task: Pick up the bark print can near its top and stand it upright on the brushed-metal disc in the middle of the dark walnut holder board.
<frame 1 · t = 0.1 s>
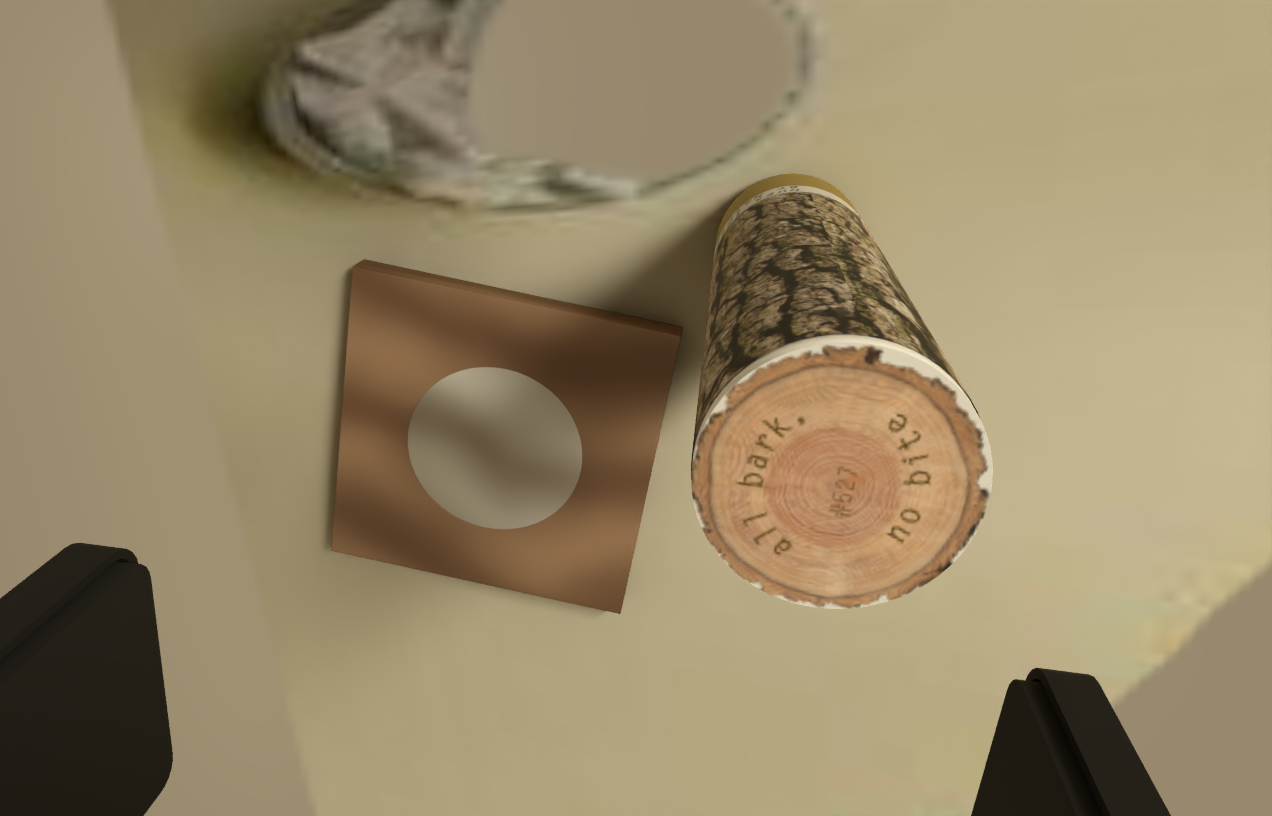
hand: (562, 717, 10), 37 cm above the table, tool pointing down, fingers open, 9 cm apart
holder board: (501, 438, 50), on the table
bark print can: (788, 243, 45), on the table
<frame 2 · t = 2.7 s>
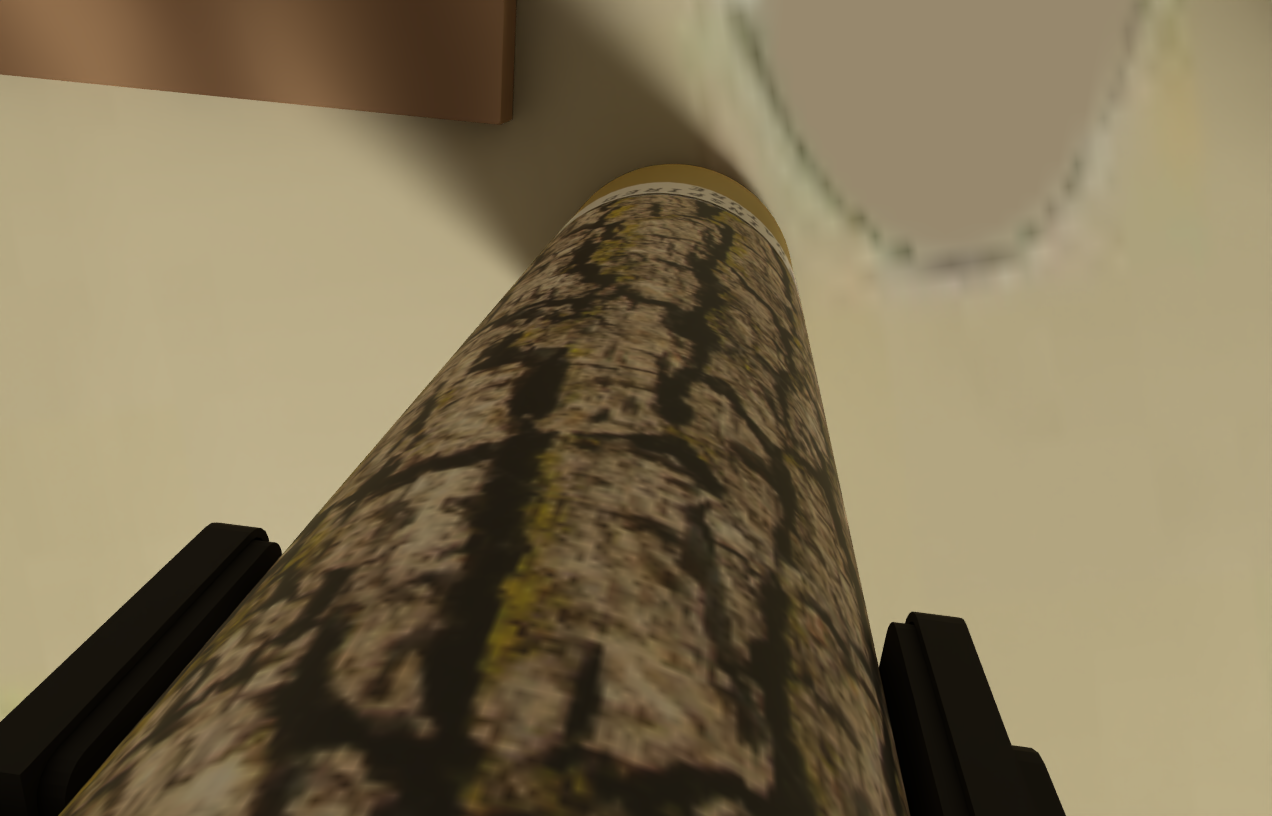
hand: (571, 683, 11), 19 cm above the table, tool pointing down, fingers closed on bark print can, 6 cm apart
bark print can: (675, 275, 28), on the table, touching gripper
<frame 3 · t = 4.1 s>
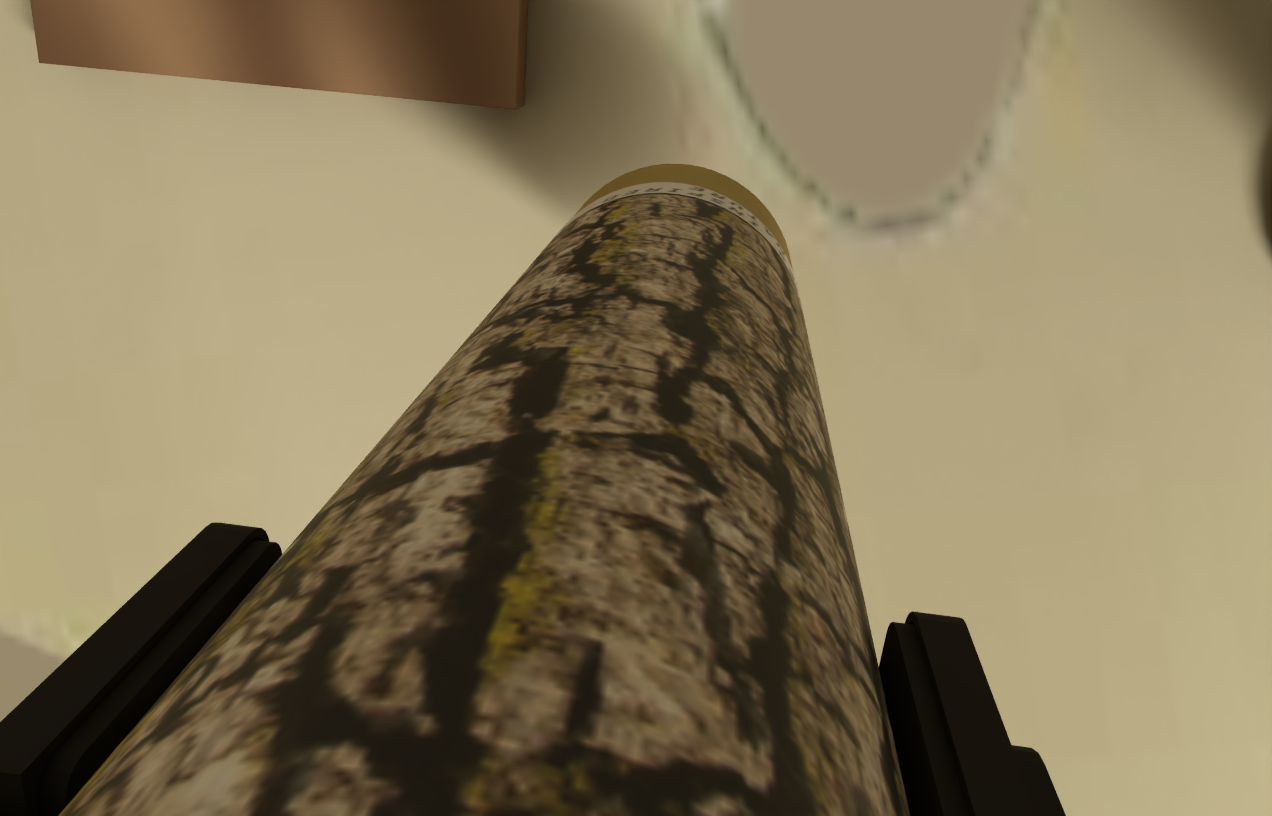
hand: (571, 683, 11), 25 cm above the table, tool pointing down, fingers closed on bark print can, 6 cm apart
bark print can: (675, 275, 28), point 6 cm above the table, touching gripper
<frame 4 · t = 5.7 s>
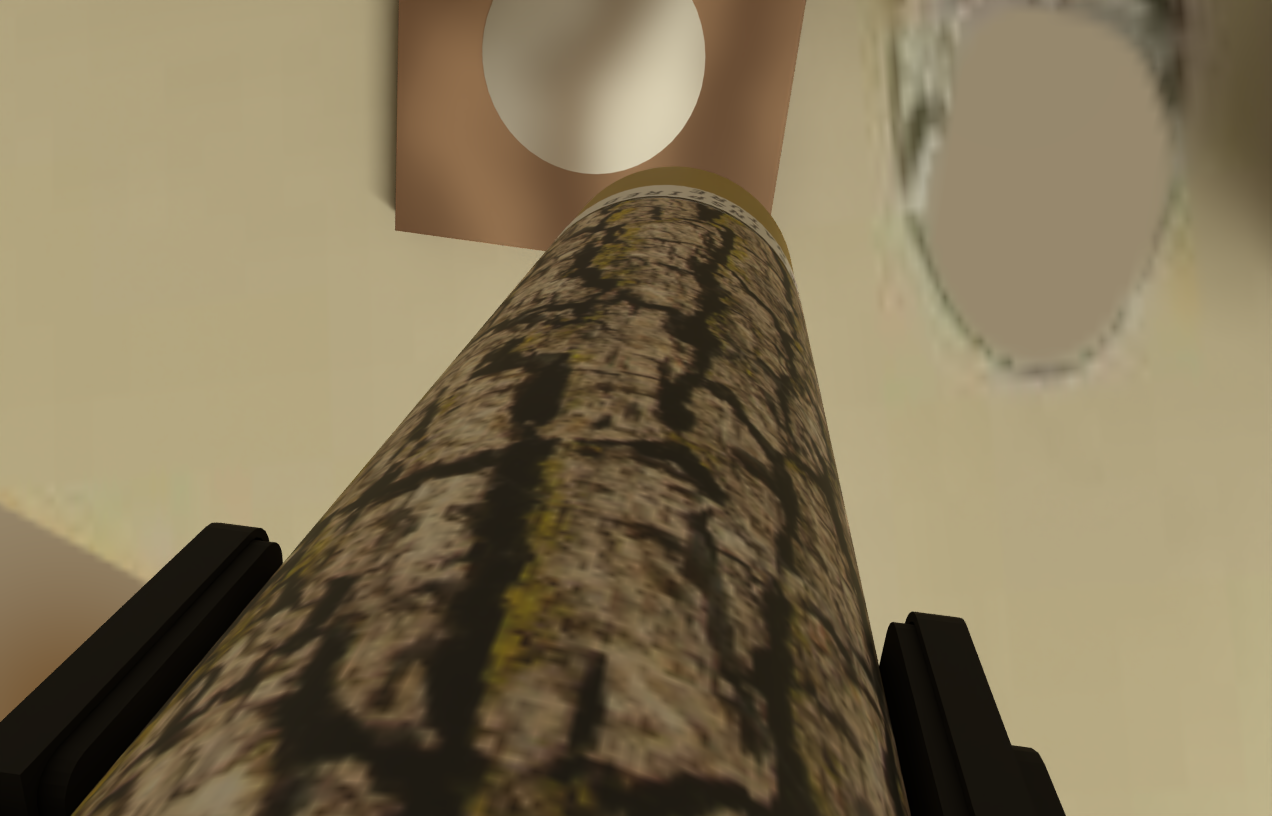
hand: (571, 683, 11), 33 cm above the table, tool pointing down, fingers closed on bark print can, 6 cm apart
holder board: (598, 58, 40), on the table
bark print can: (675, 278, 28), point 14 cm above the table, touching gripper
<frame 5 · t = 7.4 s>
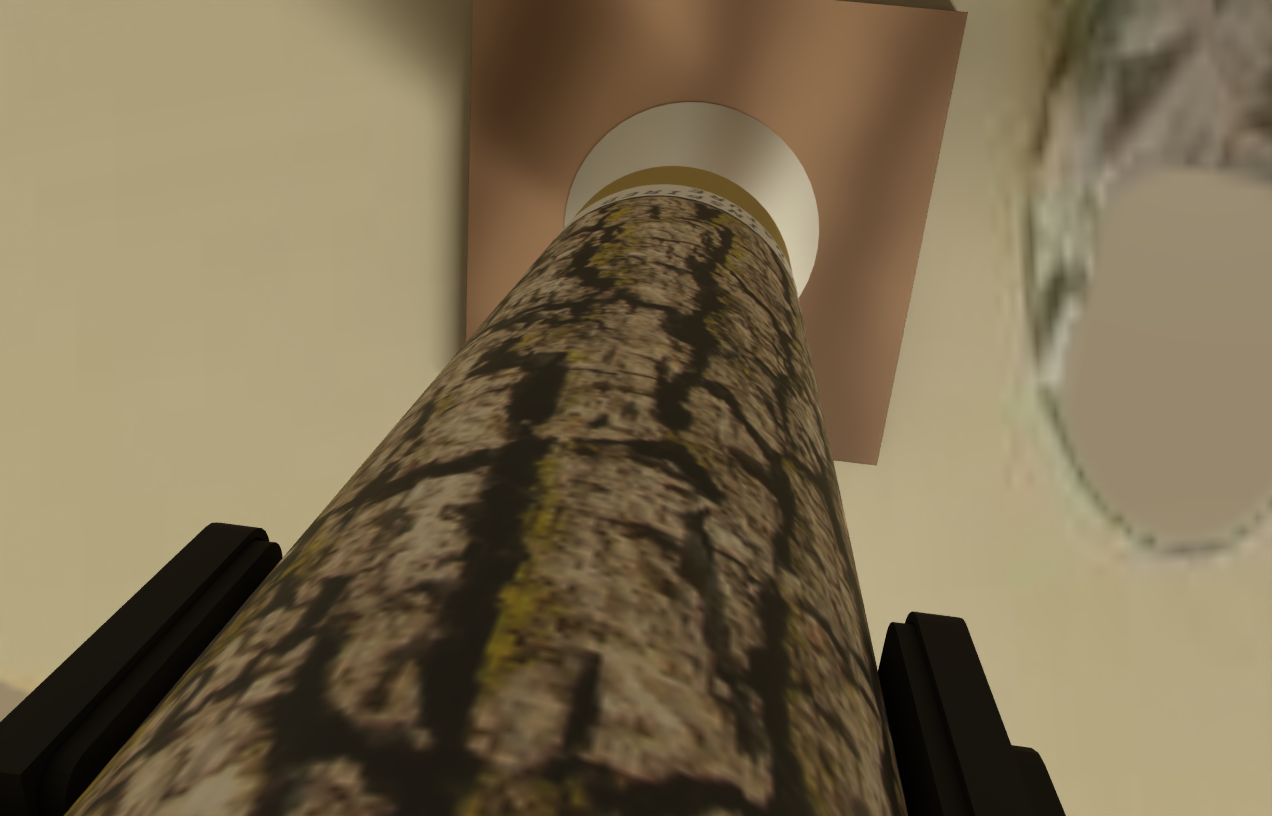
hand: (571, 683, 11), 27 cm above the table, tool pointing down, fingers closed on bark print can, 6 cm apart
holder board: (692, 226, 35), on the table
bark print can: (674, 277, 28), point 8 cm above the table, touching gripper
when the fingers open (21 cm above the table, at t = 8.9 s): bark print can stays where it is, resting on holder board.
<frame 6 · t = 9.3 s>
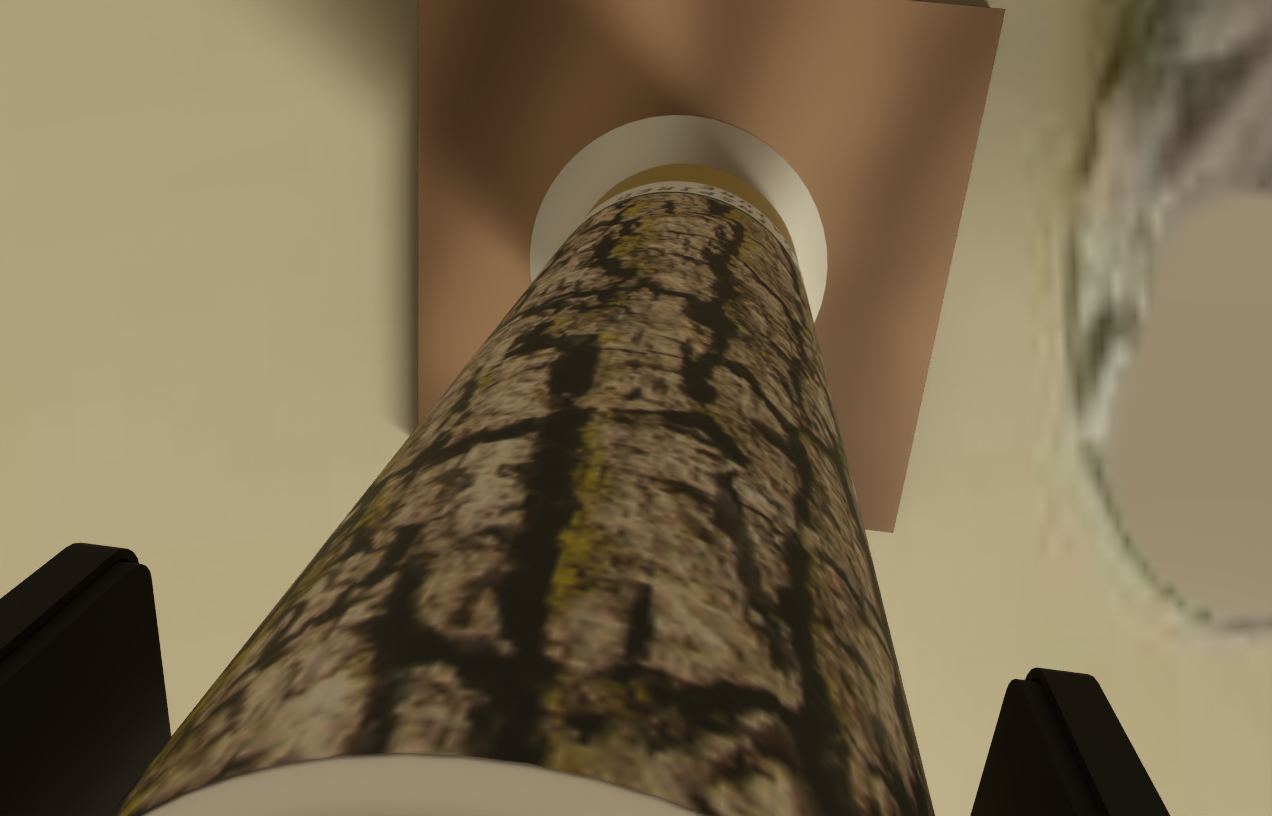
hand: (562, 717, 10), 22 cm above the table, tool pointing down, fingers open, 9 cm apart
holder board: (679, 258, 31), on the table
bark print can: (684, 272, 29), point 1 cm above the table, touching holder board
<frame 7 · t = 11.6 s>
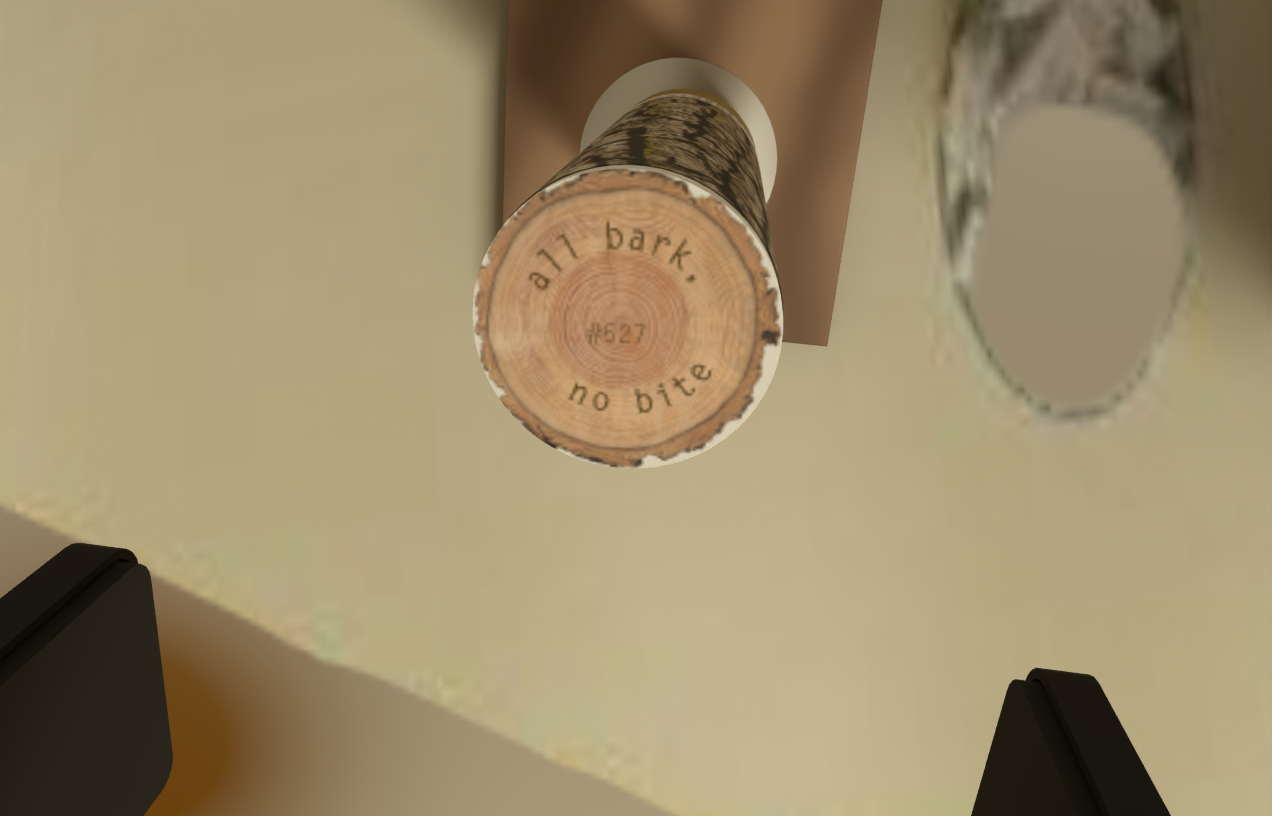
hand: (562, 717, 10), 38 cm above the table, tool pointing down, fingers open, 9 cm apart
holder board: (679, 158, 45), on the table
bark print can: (682, 164, 44), point 1 cm above the table, touching holder board
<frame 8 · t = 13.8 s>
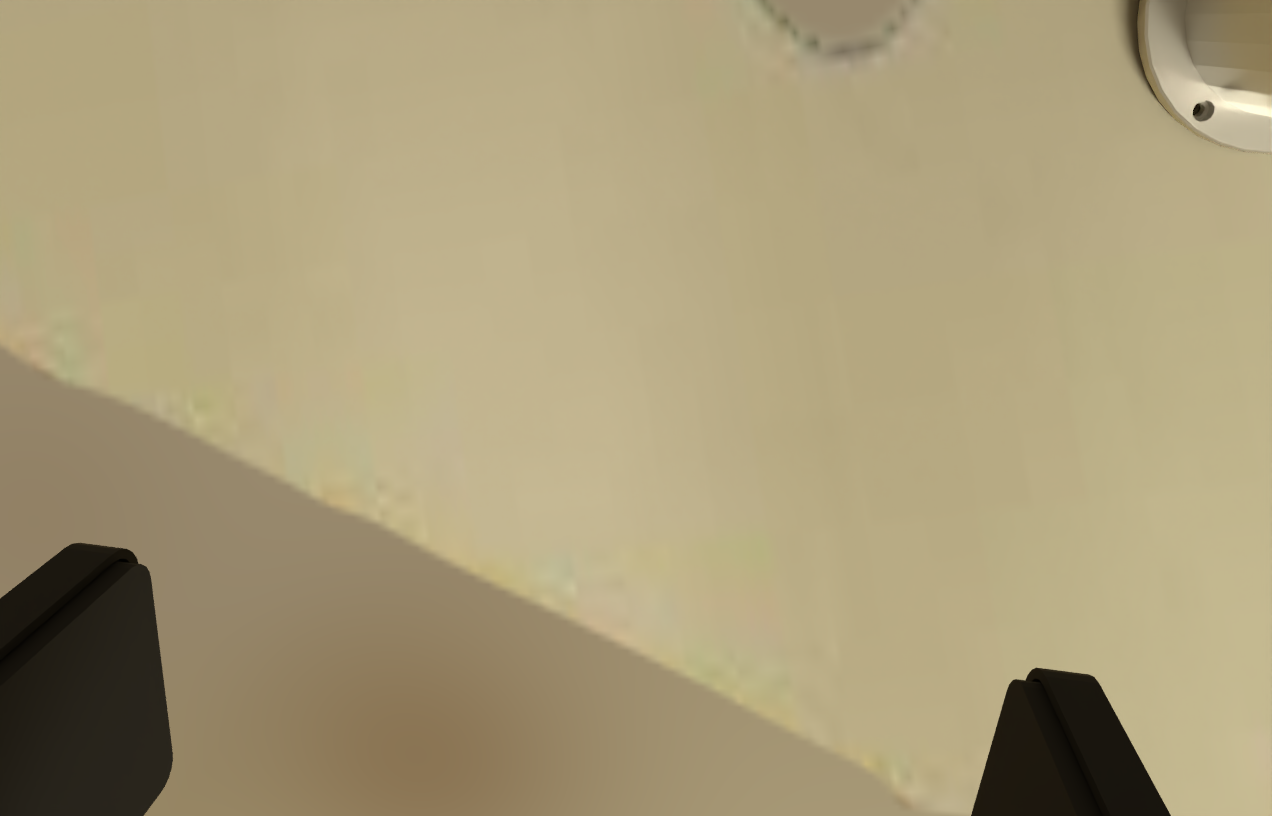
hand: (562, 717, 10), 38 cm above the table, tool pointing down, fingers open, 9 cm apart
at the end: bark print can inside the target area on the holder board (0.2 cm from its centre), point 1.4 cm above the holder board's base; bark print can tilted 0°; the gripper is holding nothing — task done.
